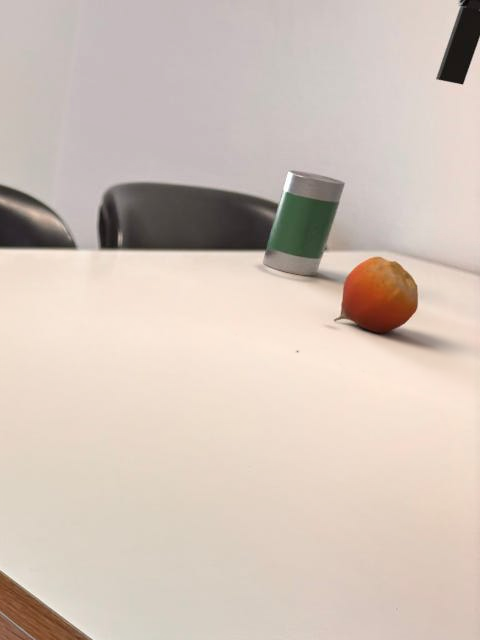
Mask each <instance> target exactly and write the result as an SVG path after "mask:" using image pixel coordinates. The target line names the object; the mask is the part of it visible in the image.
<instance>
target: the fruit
mask: <svg viewBox="0 0 480 640" xmlns="http://www.w3.org/2000/svg"><path fill="white" fill-rule="evenodd" d="M340 306H341V307H340V314H339V316H338V317H335V318H334V319H333V322H336V321H339V320H349V321H351V322H352V323H355V324H356V325H358V326H360V327H361V328H363V329H365V330H368V331H370V332H373V333H375V334H385V333H390V332H392V331H394V330H395V329H397V328H400V327H402V326H403V325H405V324H406V323H407V322H408V321H409V320H410V319H411V318H412V317H413V316H414V314H415V313H416V312H417V310H418V307H419V292H418V284H417V283H416V281H415V280H414V277H413V276H412V275H411V274H410V273H409V272H408V271H407V270H406V269H405V268H404V267H403V266H402V265H401V264H400V263H399V262H397V261H396V260H388V259H385V258H383V257H381V256H373V257H370V258H368V259H366V260H363V261H362V262H360V263H359V264H357V265H356V266H355V267H354V268H353V269H352V270H351V271H350V273H349V274H348V275H347V276H346V278H345V279H344V282H343V288H342V300H341V304H340Z"/></svg>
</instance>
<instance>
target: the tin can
mask: <svg viewBox="0 0 480 640" xmlns="http://www.w3.org/2000/svg"><path fill="white" fill-rule="evenodd" d="M345 185H346V182H344V181H342V180H340V179H336V178H333V177H329V176H325V175H320V174H316V173H311V172H306V171H301V170H288V171H287V175H286V179H285V183H284V186H283V189H282V191H281V194H280V198H279V201H278V205H277V209H276V212H275V215H274V220H273V222H272V226H271V230H270V233H269V237H268V240H267V244H266V250H265V252H264V256H263V259H262V264H264V266H267V267H269V268H272V269H274V270H278V271H281V272H284V273H288V274H292V275H297V276H309V277H311V276H316V275H317V274H318V271H319V267H320V264H321V261H322V258H323V256H324V253H325V250H326V247H327V244H328V240H329V238H330V235H331V231H332V228H333V225H334V222H335V219H336V215H337V212H338V209H339V206H340V200H341V198H342V195H343V191H344V188H345Z"/></svg>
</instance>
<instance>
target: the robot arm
mask: <svg viewBox="0 0 480 640" xmlns="http://www.w3.org/2000/svg"><path fill="white" fill-rule="evenodd" d="M457 3H458V4H457V5H458V7H459V10H458V13H457V15H456V19H455V22H454V25H453V27H452V31H451V32H450V36H449V39H448V41H447V45H446V48H445V50H444V54H443V57H442V60H441V63H440V65H439V69H438V72H437V75H436V77H435V80H437V81H443V82H448V83H452V84H457V85H463V86H464V83H465V80H466V78H467V75H468V72H469V70H470V66H471V63H472V61H473V57H474V55H475V52H476V50H477V46H478V43H479V41H480V0H458V1H457Z"/></svg>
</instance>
